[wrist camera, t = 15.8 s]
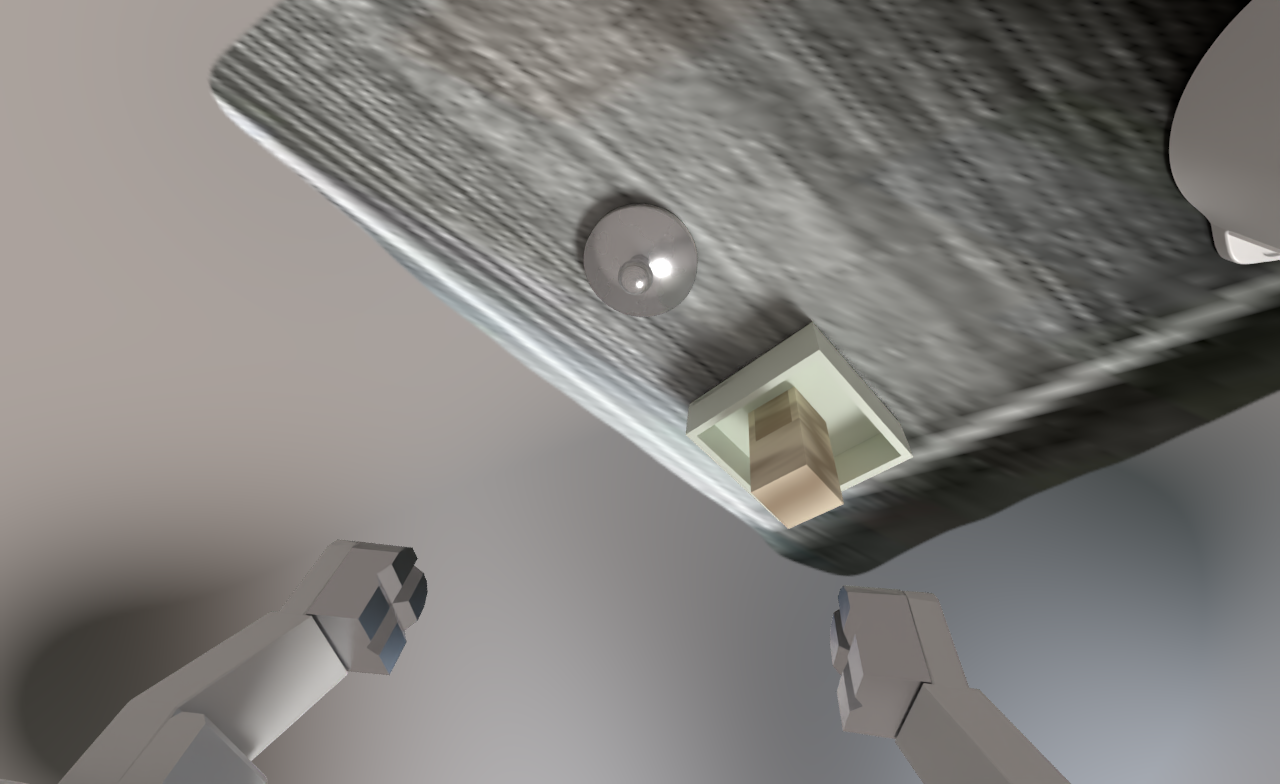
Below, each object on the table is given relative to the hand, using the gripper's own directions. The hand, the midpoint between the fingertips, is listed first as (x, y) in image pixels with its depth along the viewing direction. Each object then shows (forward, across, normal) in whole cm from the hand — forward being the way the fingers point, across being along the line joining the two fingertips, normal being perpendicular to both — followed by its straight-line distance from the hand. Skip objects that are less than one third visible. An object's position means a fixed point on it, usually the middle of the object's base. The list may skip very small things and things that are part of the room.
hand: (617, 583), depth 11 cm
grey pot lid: (+31, +4, +6) cm, 32 cm away
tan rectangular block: (+30, -8, +19) cm, 37 cm away
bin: (+31, -8, +19) cm, 37 cm away
